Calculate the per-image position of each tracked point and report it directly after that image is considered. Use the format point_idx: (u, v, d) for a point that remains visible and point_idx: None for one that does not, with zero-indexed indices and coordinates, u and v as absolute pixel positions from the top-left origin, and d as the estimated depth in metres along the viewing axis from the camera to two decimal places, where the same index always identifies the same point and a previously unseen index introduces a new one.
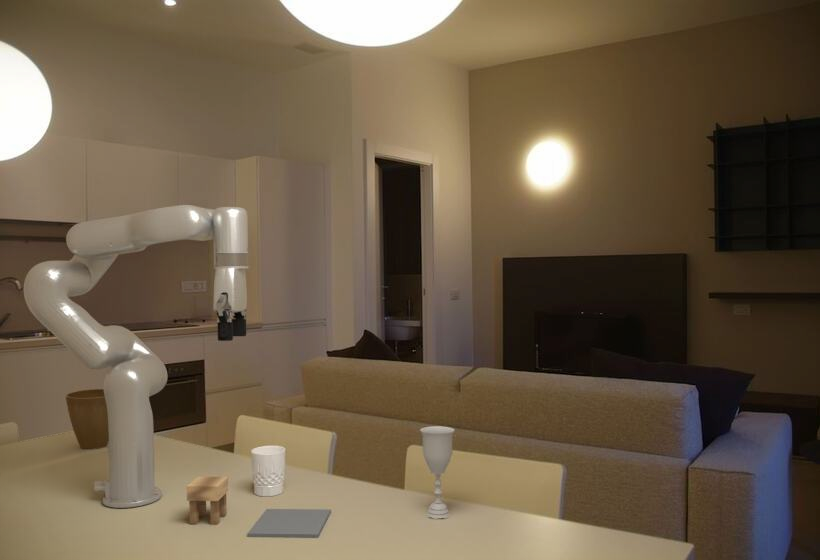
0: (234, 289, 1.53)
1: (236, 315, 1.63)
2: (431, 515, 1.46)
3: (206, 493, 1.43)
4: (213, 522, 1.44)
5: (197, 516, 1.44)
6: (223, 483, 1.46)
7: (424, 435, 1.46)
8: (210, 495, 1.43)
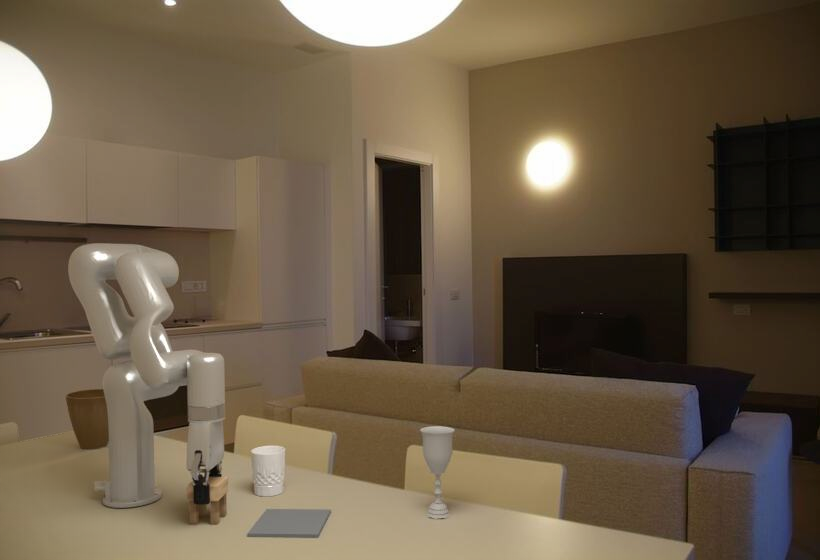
0: (209, 446, 1.42)
1: (211, 469, 1.50)
2: (431, 515, 1.46)
3: None
4: (213, 522, 1.44)
5: (197, 516, 1.44)
6: (223, 483, 1.46)
7: (424, 435, 1.46)
8: (210, 495, 1.43)
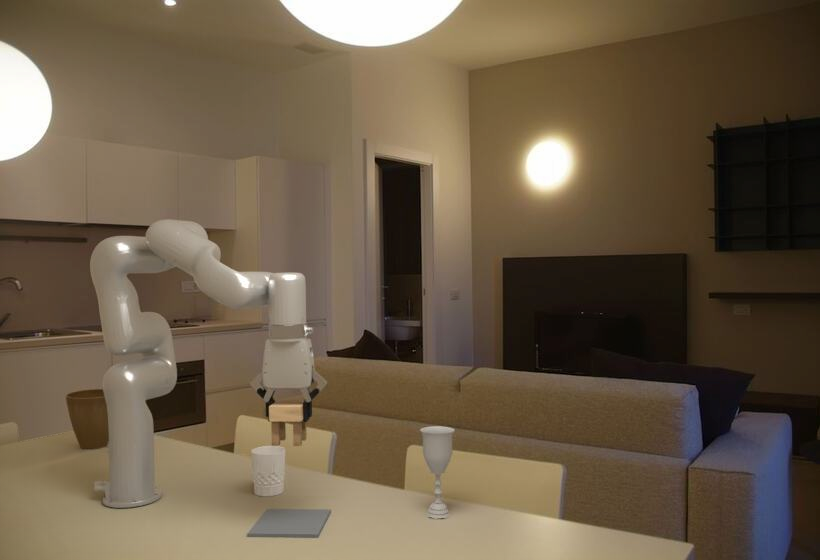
0: (264, 363, 1.41)
1: None
2: (431, 515, 1.46)
3: None
4: None
5: (280, 433, 1.45)
6: (286, 408, 1.40)
7: (424, 435, 1.46)
8: None
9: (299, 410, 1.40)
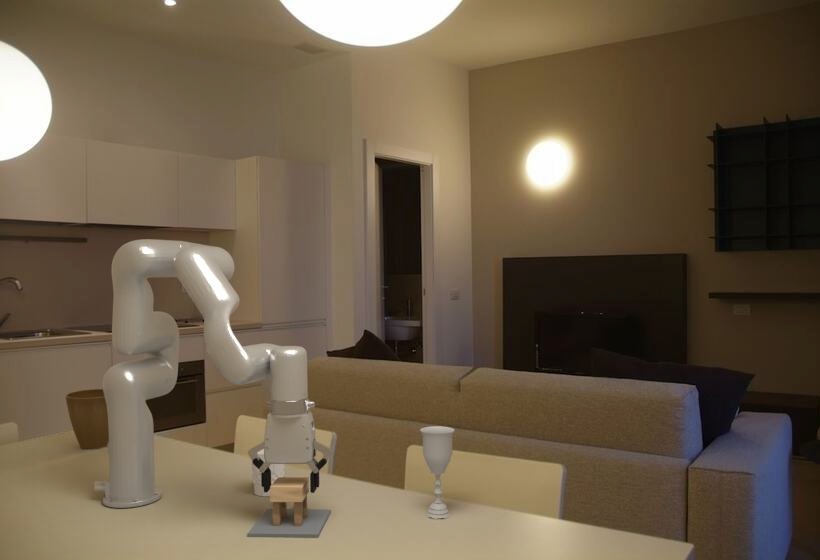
0: (266, 438, 1.41)
1: None
2: (431, 515, 1.46)
3: None
4: None
5: (281, 511, 1.45)
6: (287, 489, 1.40)
7: (424, 435, 1.46)
8: None
9: (300, 491, 1.40)
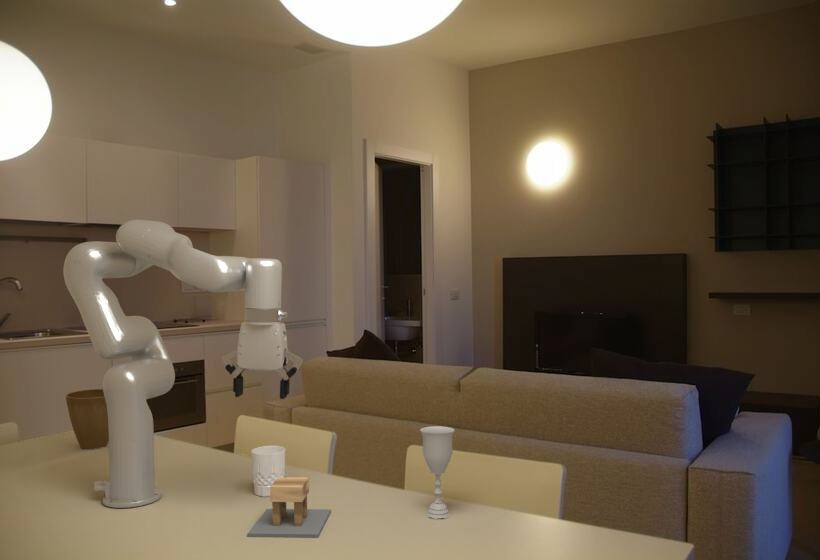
0: (239, 344, 1.47)
1: None
2: (431, 515, 1.46)
3: None
4: None
5: (281, 511, 1.45)
6: (287, 489, 1.40)
7: (424, 435, 1.46)
8: None
9: (300, 491, 1.40)
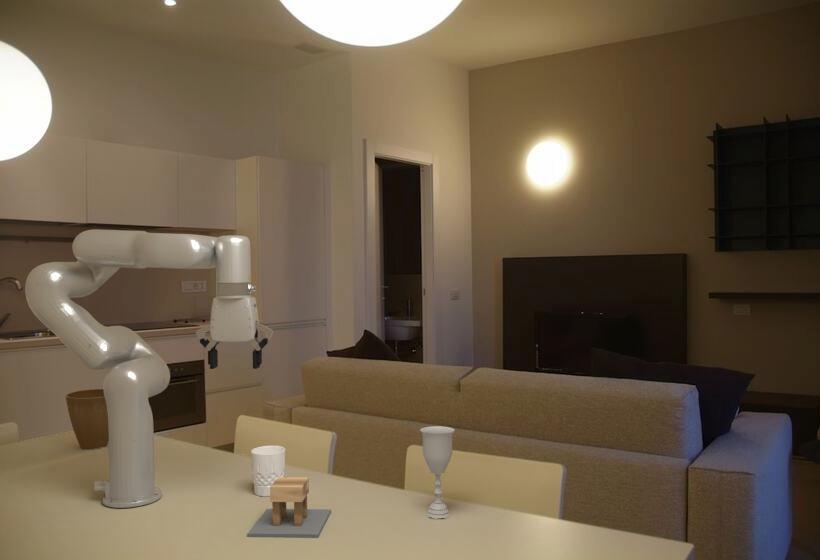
0: (211, 318, 1.54)
1: None
2: (431, 515, 1.46)
3: None
4: None
5: (281, 511, 1.45)
6: (287, 489, 1.40)
7: (424, 435, 1.46)
8: None
9: (300, 491, 1.40)
